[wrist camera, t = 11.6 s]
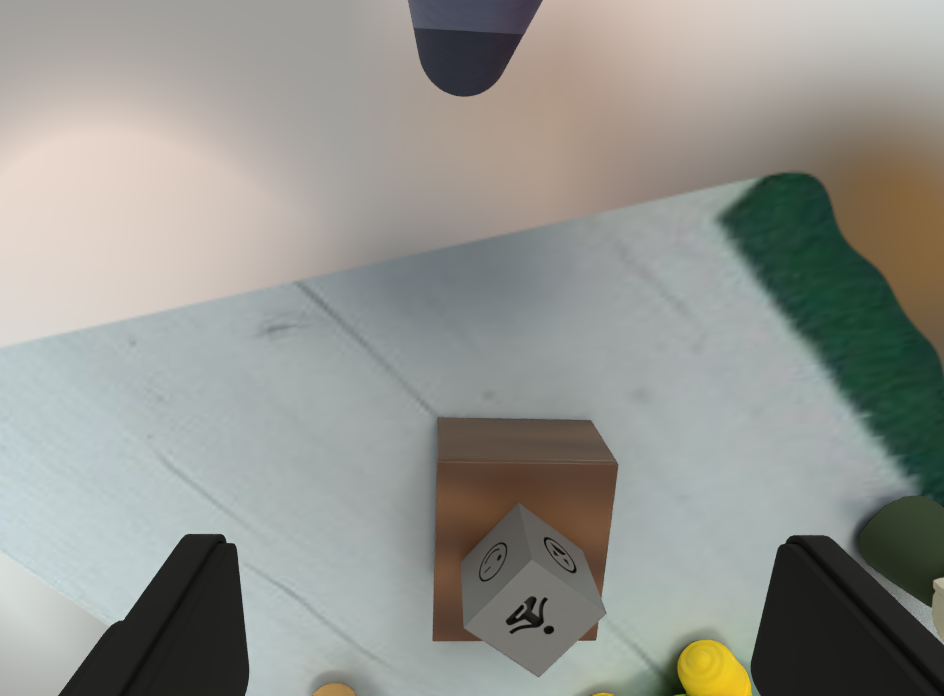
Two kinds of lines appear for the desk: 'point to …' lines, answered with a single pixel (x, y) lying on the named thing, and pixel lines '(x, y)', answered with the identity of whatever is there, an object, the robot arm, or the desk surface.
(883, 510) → the character mug
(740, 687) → the turtle toy
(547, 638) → the dice cube
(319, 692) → the figurine
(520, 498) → the walnut block
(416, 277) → the desk surface
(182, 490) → the desk surface
